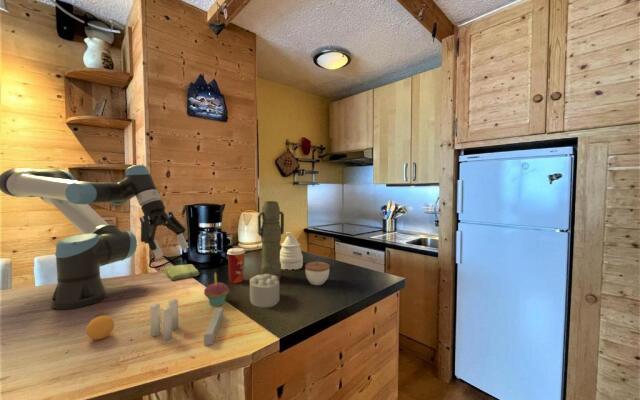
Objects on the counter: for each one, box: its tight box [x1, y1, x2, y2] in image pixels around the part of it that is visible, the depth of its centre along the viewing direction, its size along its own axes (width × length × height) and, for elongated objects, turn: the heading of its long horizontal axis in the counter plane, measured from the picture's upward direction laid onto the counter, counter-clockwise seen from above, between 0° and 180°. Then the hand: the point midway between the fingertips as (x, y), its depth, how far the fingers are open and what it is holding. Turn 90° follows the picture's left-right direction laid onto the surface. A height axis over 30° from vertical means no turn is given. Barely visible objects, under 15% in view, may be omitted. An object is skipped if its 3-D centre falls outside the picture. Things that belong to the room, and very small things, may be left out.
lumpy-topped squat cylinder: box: [249, 274, 280, 308], centre depth 102 cm, size 10×13×9 cm
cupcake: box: [203, 271, 230, 306], centre depth 99 cm, size 9×8×12 cm
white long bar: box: [203, 306, 224, 346], centre depth 81 cm, size 2×16×3 cm, turn 10°
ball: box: [85, 315, 115, 341], centre depth 76 cm, size 6×6×6 cm
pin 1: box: [161, 305, 173, 341], centre depth 77 cm, size 2×2×8 cm
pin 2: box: [168, 298, 179, 331], centre depth 82 cm, size 2×2×8 cm
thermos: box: [257, 200, 285, 281], centre depth 124 cm, size 9×12×35 cm
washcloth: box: [164, 263, 200, 281], centre depth 131 cm, size 13×18×3 cm
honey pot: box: [280, 231, 304, 271], centre depth 144 cm, size 13×13×18 cm
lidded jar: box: [304, 260, 331, 286], centre depth 121 cm, size 11×11×9 cm
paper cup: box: [226, 247, 246, 284], centre depth 122 cm, size 8×8×14 cm
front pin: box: [149, 302, 162, 337], centre depth 79 cm, size 2×2×8 cm
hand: (173, 253), depth 106 cm, fingers open, 13 cm apart
